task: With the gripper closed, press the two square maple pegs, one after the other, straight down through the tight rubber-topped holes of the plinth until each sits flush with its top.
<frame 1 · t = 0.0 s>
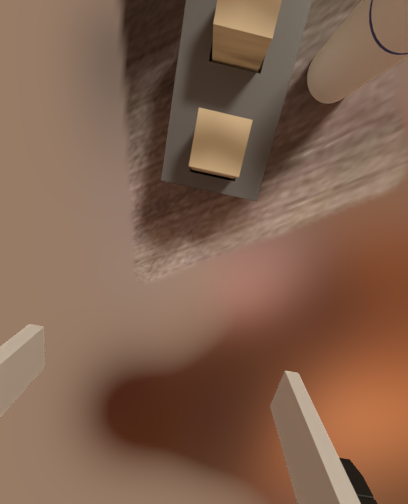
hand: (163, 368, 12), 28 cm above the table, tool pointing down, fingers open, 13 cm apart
cylindrical container: (331, 75, 31), on the table
plinth: (222, 122, 33), on the table
peg 1: (243, 27, 21), point 11 cm above the table, slide at 0.0 cm
peg 2: (217, 150, 24), point 11 cm above the table, slide at 0.0 cm
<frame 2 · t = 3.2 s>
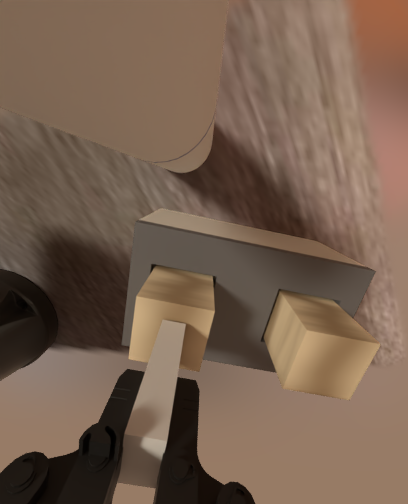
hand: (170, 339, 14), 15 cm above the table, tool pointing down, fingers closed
cylindrical container: (180, 139, 24), on the table
plinth: (228, 268, 29), on the table
peg 1: (177, 304, 18), point 11 cm above the table, slide at 0.2 cm, touching gripper
peg 2: (304, 329, 18), point 11 cm above the table, slide at 0.0 cm
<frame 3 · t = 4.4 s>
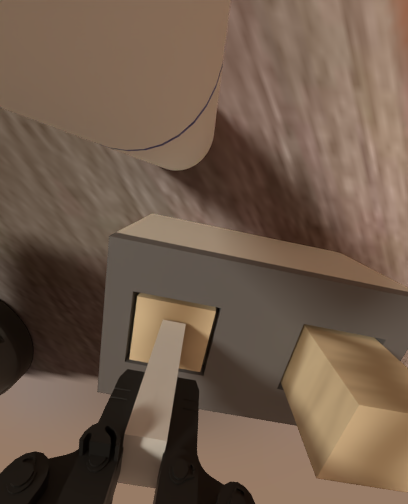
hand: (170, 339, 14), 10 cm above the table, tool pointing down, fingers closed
cylindrical container: (175, 129, 20), on the table
plinth: (233, 284, 24), on the table
peg 1: (178, 304, 18), point 6 cm above the table, slide at 5.0 cm, touching gripper
peg 2: (337, 378, 14), point 11 cm above the table, slide at 0.0 cm
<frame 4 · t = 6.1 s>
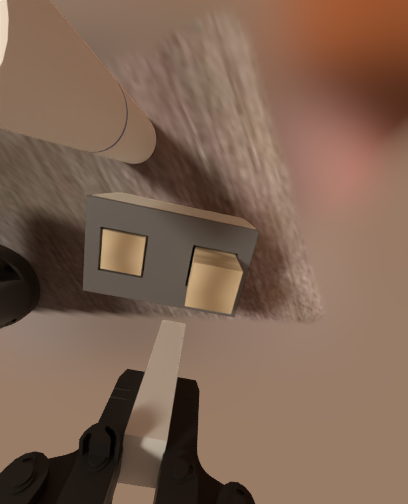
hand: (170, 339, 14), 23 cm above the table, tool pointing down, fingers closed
cylindrical container: (132, 137, 31), on the table
plinth: (176, 241, 36), on the table
peg 1: (132, 244, 30), point 6 cm above the table, slide at 5.0 cm
peg 2: (211, 273, 26), point 11 cm above the table, slide at 0.0 cm
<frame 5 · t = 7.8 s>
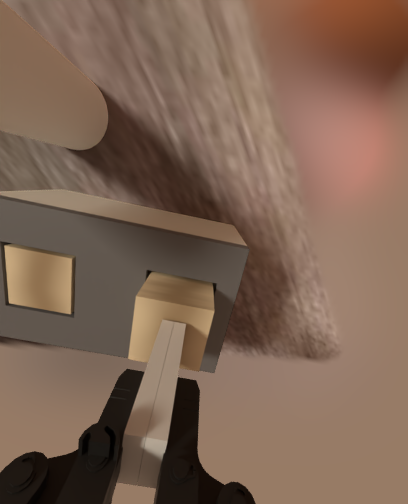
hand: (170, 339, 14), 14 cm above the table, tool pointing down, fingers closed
cylindrical container: (74, 113, 22), on the table
plinth: (143, 255, 27), on the table
peg 1: (70, 263, 21), point 6 cm above the table, slide at 5.0 cm
peg 2: (177, 303, 18), point 9 cm above the table, slide at 1.6 cm, touching gripper
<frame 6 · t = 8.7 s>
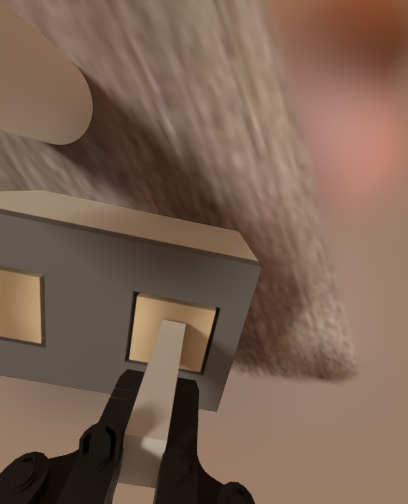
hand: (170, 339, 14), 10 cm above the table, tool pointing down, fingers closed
cylindrical container: (53, 101, 19), on the table
plinth: (136, 265, 23), on the table
peg 1: (45, 278, 17), point 6 cm above the table, slide at 5.0 cm
peg 2: (178, 304, 18), point 6 cm above the table, slide at 5.0 cm, touching gripper
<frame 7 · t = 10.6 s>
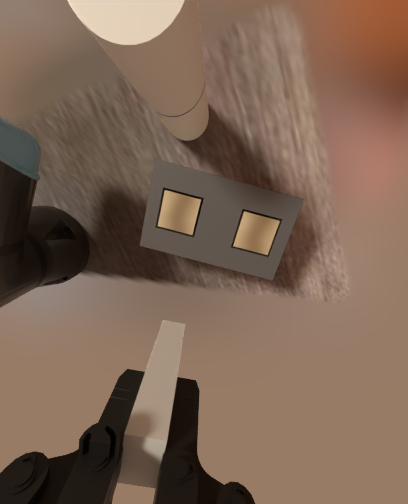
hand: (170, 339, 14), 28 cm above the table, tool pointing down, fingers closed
cylindrical container: (187, 116, 35), on the table
plinth: (217, 214, 39), on the table
peg 1: (183, 210, 33), point 6 cm above the table, slide at 5.0 cm
peg 2: (251, 228, 33), point 6 cm above the table, slide at 5.0 cm
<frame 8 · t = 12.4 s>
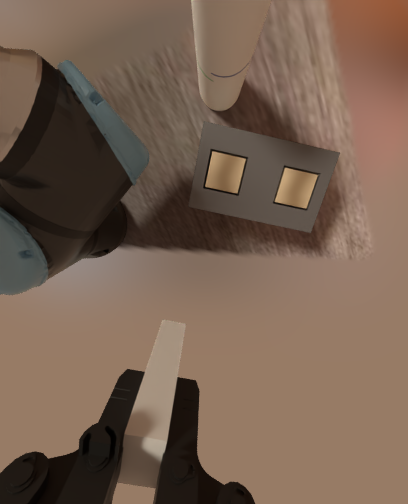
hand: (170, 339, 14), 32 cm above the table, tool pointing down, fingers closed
cylindrical container: (219, 87, 37), on the table
plinth: (248, 181, 42), on the table
peg 1: (223, 174, 36), point 6 cm above the table, slide at 5.0 cm
peg 2: (286, 188, 36), point 6 cm above the table, slide at 5.0 cm
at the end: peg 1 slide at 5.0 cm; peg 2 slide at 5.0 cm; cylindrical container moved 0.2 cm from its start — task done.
